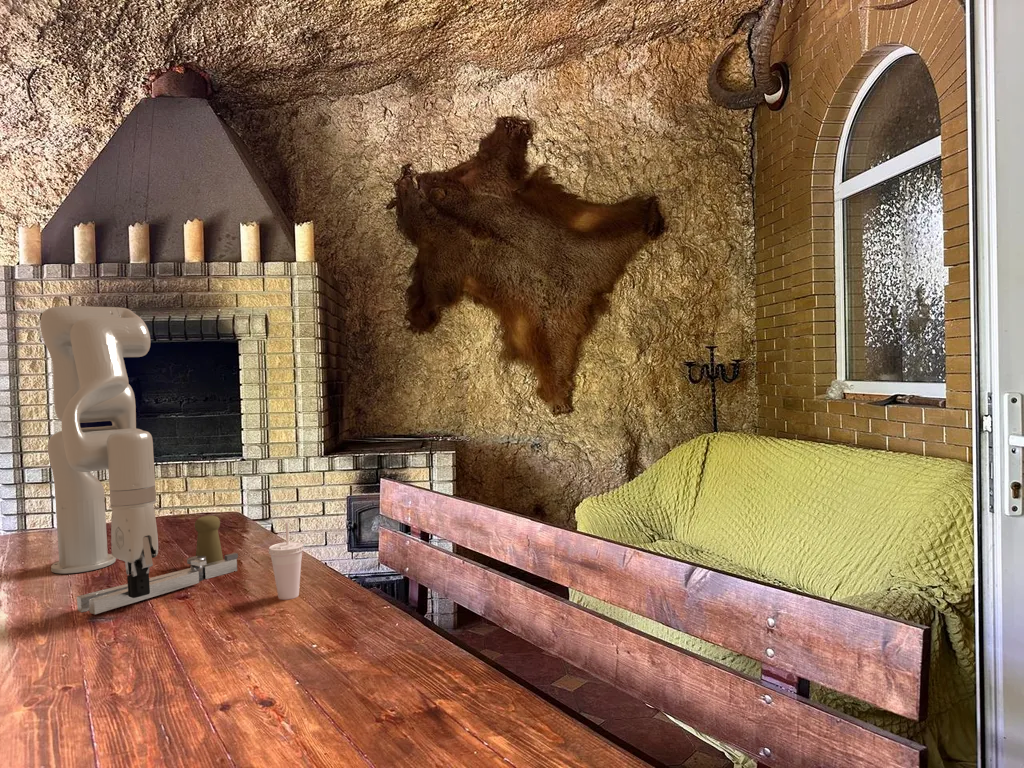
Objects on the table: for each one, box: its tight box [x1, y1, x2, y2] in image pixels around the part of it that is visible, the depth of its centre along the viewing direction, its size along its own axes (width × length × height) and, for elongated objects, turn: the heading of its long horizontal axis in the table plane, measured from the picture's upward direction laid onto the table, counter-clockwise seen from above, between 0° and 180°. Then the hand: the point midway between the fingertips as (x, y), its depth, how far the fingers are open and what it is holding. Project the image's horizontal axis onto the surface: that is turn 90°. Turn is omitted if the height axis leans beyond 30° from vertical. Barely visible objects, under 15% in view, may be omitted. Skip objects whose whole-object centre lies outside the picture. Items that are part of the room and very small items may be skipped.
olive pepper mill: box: [194, 515, 224, 564], centre depth 155 cm, size 6×6×11 cm
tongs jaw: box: [89, 555, 207, 615], centre depth 135 cm, size 6×24×4 cm, turn 146°
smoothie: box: [268, 521, 305, 601], centre depth 131 cm, size 6×6×14 cm
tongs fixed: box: [76, 552, 239, 613], centre depth 139 cm, size 2×31×4 cm, turn 140°
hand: (139, 595), depth 129 cm, fingers closed
